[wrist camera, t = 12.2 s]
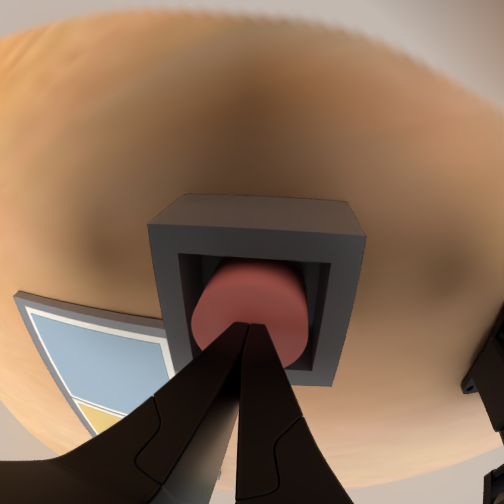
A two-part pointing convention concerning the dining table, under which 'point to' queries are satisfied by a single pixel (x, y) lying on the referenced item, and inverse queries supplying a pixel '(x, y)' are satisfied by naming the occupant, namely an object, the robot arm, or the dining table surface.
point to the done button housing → (264, 247)
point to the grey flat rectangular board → (98, 357)
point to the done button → (255, 303)
